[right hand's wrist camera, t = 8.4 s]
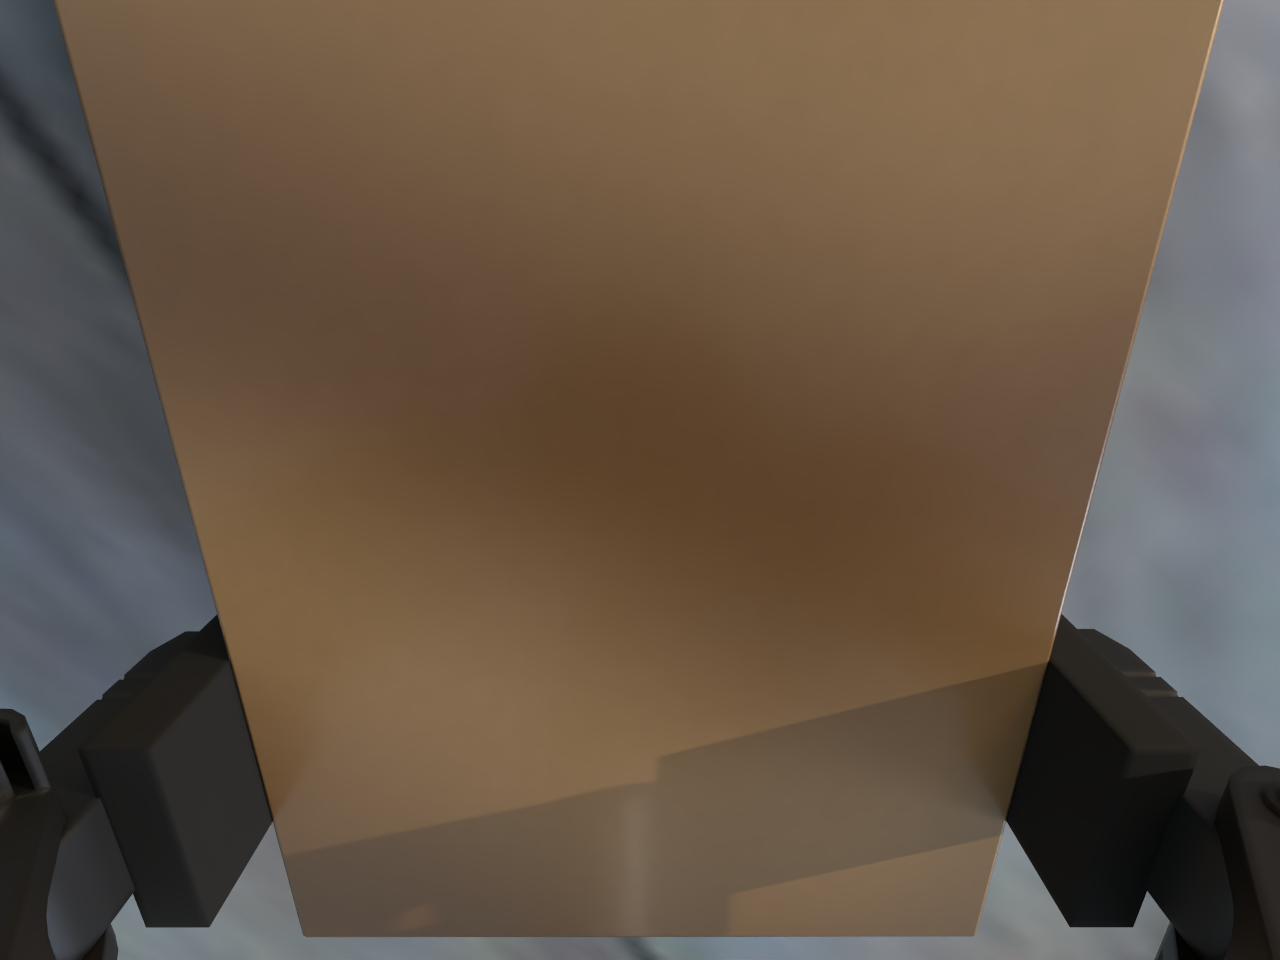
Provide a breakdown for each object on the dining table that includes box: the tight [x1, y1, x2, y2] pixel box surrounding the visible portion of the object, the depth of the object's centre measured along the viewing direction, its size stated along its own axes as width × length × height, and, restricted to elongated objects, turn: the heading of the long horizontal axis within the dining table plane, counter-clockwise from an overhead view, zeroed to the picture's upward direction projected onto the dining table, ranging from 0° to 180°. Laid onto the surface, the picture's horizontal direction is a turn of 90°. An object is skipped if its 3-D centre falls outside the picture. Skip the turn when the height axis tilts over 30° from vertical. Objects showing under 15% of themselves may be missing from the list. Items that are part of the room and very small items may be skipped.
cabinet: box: [53, 0, 1225, 937], centre depth 11 cm, size 18×10×8 cm, turn 0°
